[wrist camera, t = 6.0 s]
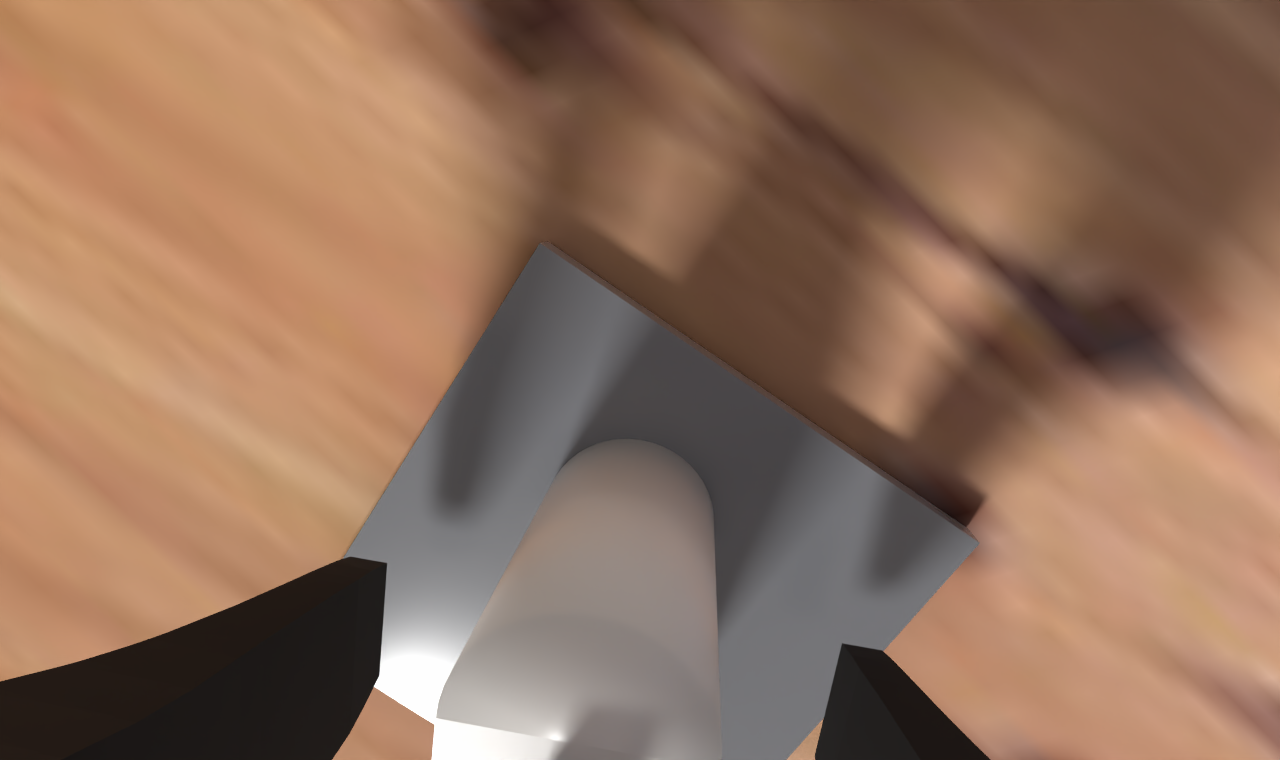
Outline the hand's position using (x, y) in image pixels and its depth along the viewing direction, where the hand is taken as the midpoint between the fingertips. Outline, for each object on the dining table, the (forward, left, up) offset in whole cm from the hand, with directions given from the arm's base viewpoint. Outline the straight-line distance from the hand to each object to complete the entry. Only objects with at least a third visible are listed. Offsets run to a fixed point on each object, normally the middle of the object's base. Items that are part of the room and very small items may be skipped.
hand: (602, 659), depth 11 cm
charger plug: (0, 0, -2) cm, 2 cm away
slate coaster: (0, 0, -3) cm, 3 cm away
